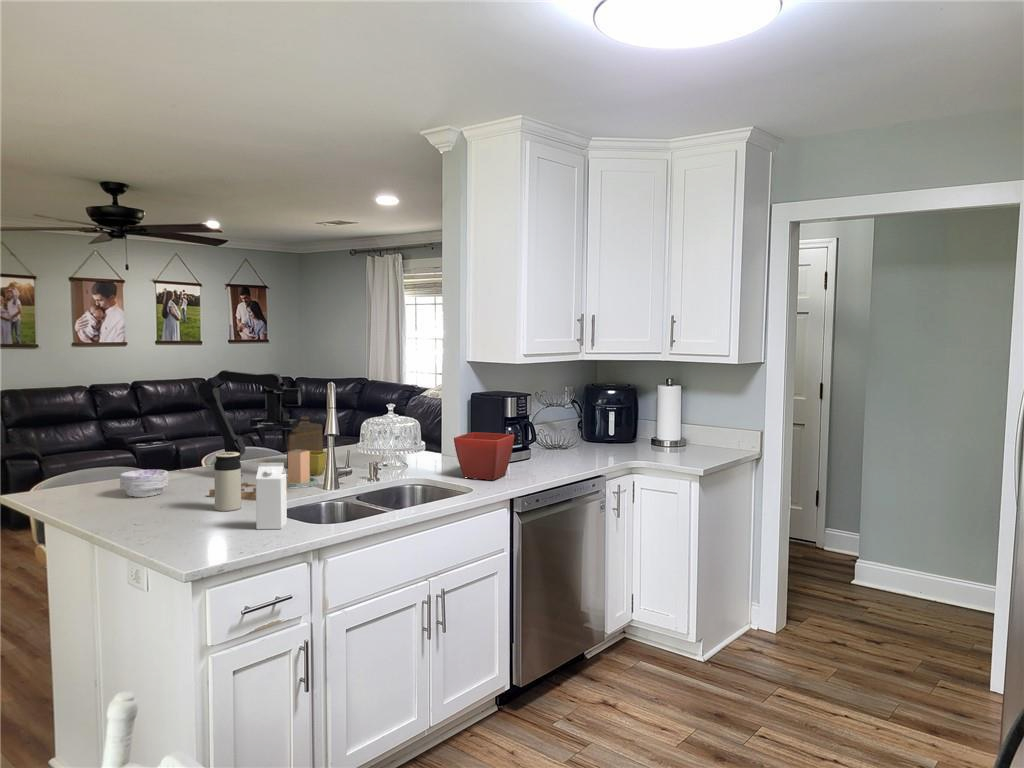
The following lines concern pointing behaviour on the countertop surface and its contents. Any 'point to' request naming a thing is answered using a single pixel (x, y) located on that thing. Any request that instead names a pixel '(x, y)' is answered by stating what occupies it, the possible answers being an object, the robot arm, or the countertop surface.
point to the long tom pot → (299, 466)
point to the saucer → (312, 482)
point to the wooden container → (305, 437)
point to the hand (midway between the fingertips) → (273, 444)
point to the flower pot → (317, 462)
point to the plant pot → (484, 454)
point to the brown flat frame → (246, 494)
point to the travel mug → (227, 481)
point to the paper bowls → (144, 482)
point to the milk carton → (271, 496)
